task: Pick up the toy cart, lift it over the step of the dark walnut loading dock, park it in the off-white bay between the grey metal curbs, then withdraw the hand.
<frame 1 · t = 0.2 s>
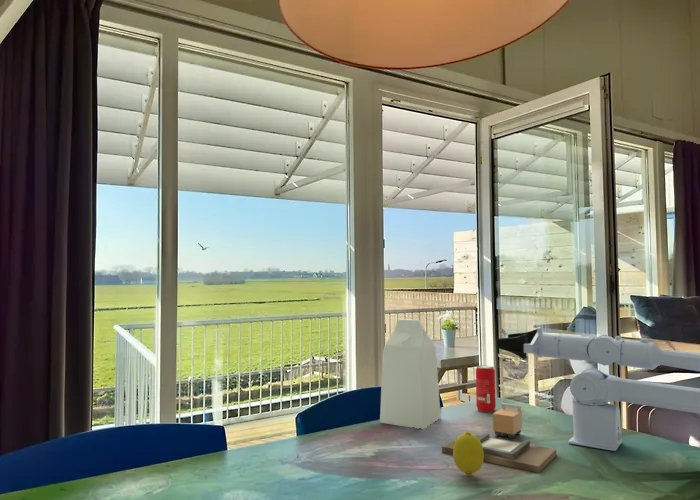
hand: (503, 340, 126), 21 cm above the table, tool horizontal, fingers open, 7 cm apart
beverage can: (486, 411, 142), on the table
milk: (410, 421, 133), on the table
lemon: (468, 477, 94), on the table
toy cart: (508, 434, 119), on the table
dock: (498, 453, 106), on the table
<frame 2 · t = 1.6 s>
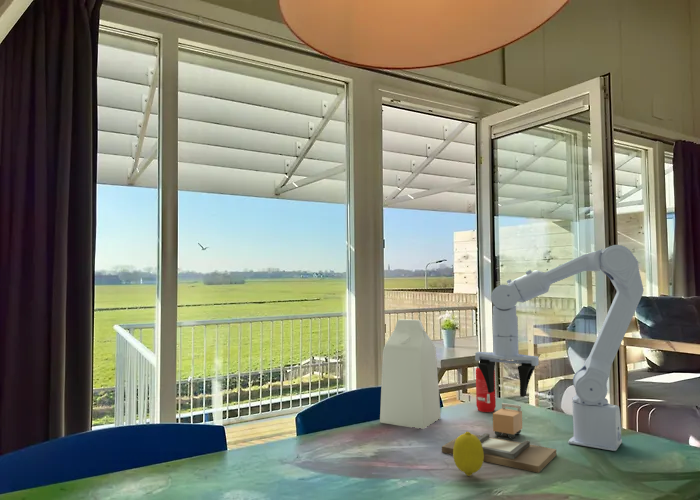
hand: (506, 394, 120), 9 cm above the table, tool pointing down, fingers open, 7 cm apart
nothing on the table moved.
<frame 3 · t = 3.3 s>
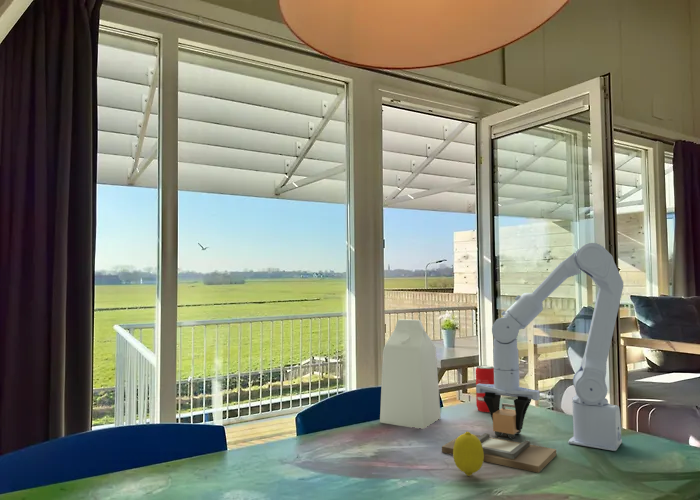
hand: (507, 427, 119), 2 cm above the table, tool pointing down, fingers closed on toy cart, 5 cm apart
toy cart: (508, 434, 119), on the table, touching gripper
everything else where it was.
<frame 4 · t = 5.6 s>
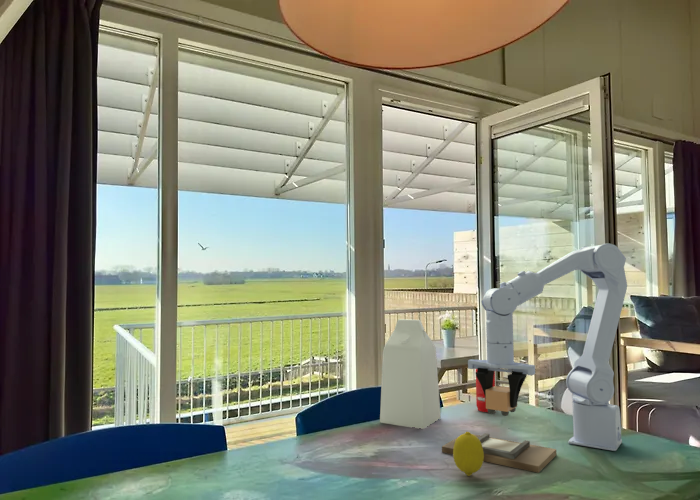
hand: (501, 405, 112), 9 cm above the table, tool pointing down, fingers closed on toy cart, 5 cm apart
toy cart: (501, 413, 112), point 7 cm above the table, touching gripper
everything else where it was.
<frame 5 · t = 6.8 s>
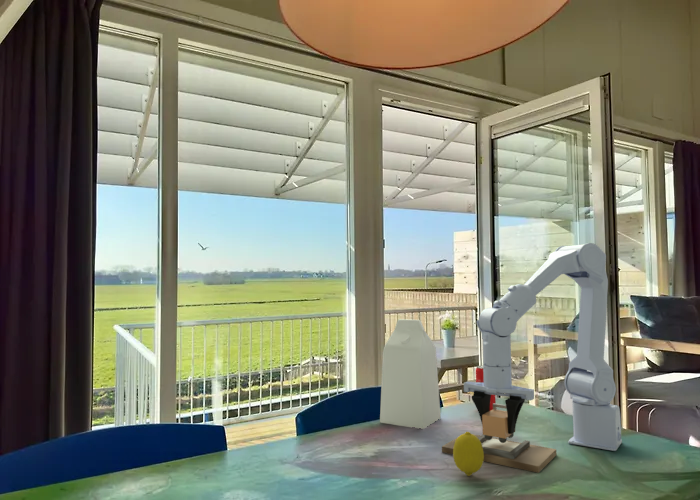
hand: (498, 430, 107), 5 cm above the table, tool pointing down, fingers closed on toy cart, 5 cm apart
toy cart: (499, 438, 107), point 3 cm above the table, touching gripper
everything else where it was.
when the fingers open (4 cm above the table, at t = 7.8 s): toy cart stays where it is, resting on dock.
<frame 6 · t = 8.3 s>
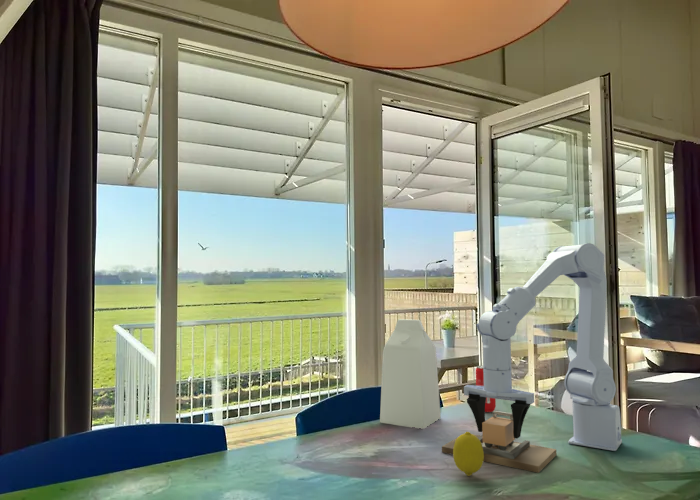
hand: (498, 434, 107), 4 cm above the table, tool pointing down, fingers open, 7 cm apart
toy cart: (499, 446, 107), point 1 cm above the table, touching dock
everything else where it was.
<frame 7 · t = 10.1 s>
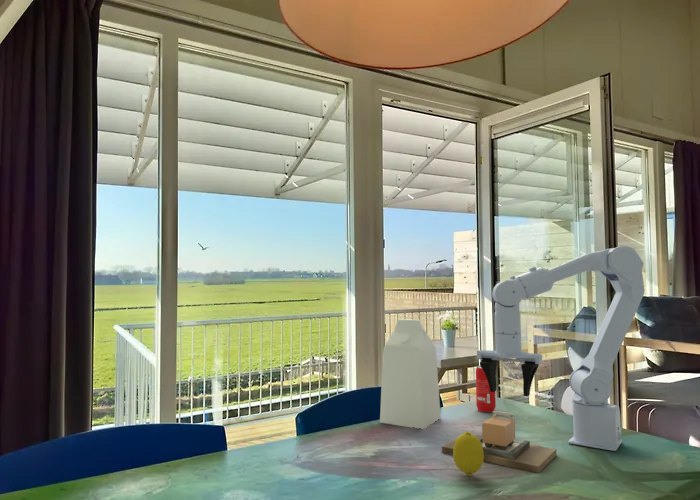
hand: (509, 393, 116), 10 cm above the table, tool pointing down, fingers open, 7 cm apart
nothing on the table moved.
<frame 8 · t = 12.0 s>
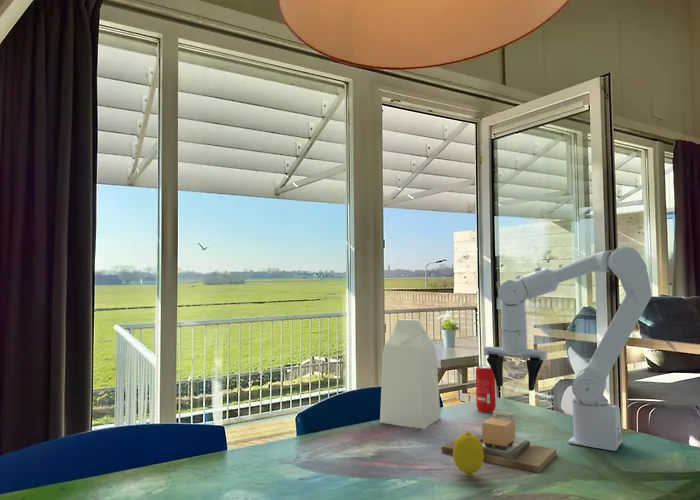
hand: (515, 388, 122), 10 cm above the table, tool pointing down, fingers open, 7 cm apart
nothing on the table moved.
at the end: toy cart 0.2 cm off-centre on the dock, point 1.3 cm above the dock's base; toy cart tilted 0°; the gripper is holding nothing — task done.
